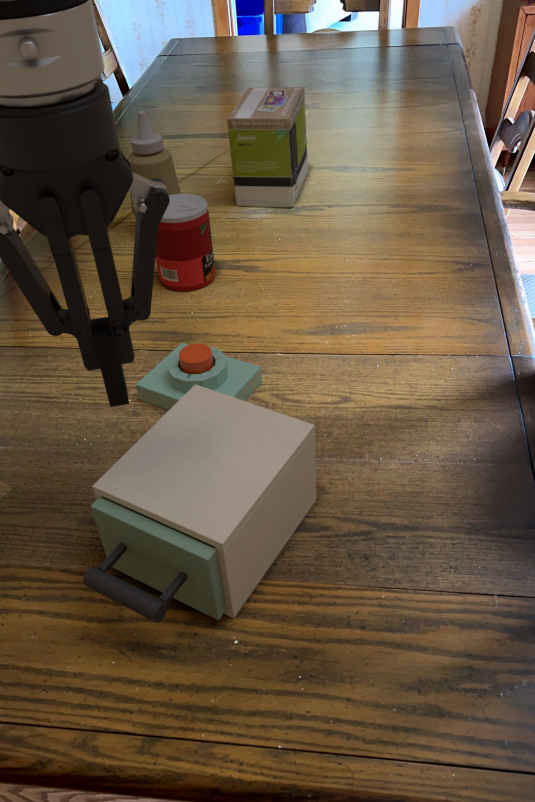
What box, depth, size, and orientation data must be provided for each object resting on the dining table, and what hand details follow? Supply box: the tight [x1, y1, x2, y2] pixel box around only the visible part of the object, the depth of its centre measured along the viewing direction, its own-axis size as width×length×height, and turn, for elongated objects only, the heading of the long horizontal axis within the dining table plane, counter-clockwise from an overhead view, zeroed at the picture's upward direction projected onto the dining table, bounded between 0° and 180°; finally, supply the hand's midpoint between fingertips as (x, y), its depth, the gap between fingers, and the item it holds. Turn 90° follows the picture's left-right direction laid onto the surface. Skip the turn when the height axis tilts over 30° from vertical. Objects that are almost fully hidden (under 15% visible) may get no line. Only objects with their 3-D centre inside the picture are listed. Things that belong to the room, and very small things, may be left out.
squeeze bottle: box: [126, 110, 182, 219], centre depth 108 cm, size 8×8×18 cm
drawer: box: [82, 497, 226, 624], centre depth 60 cm, size 18×11×8 cm, turn 150°
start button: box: [179, 343, 213, 374], centre depth 79 cm, size 4×4×2 cm
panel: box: [135, 342, 263, 411], centre depth 80 cm, size 11×9×4 cm
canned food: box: [155, 193, 216, 292], centre depth 97 cm, size 8×8×11 cm
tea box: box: [226, 86, 309, 208], centre depth 118 cm, size 15×10×15 cm, turn 168°
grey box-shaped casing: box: [92, 385, 317, 619], centre depth 63 cm, size 15×13×10 cm
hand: (118, 394), depth 57 cm, fingers closed
